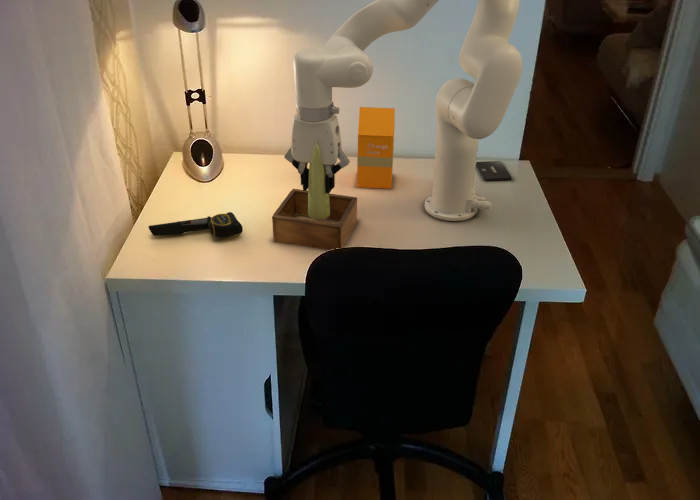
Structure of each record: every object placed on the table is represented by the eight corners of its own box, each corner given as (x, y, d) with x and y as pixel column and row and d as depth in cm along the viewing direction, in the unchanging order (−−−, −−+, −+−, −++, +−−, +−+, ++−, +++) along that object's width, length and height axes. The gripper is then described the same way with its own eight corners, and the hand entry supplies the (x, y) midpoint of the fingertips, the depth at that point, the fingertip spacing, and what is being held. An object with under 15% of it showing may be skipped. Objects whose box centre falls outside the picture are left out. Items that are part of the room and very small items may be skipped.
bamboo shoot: (336, 215, 156) (334, 135, 146) (320, 224, 153) (316, 142, 143) (320, 207, 160) (316, 128, 149) (303, 215, 157) (298, 134, 146)
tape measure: (244, 237, 156) (243, 223, 154) (214, 244, 153) (212, 229, 151) (235, 223, 161) (233, 209, 159) (206, 229, 158) (204, 215, 156)
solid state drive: (485, 180, 180) (485, 178, 180) (475, 164, 189) (476, 161, 188) (511, 179, 181) (512, 177, 180) (500, 163, 189) (501, 160, 189)
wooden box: (357, 221, 162) (357, 197, 159) (341, 252, 151) (341, 227, 148) (293, 212, 166) (292, 188, 162) (272, 241, 155) (271, 216, 151)
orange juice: (359, 173, 183) (360, 101, 173) (392, 175, 183) (395, 102, 172) (356, 187, 177) (357, 112, 166) (391, 189, 176) (394, 114, 165)
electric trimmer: (150, 233, 158) (147, 221, 156) (218, 223, 161) (217, 212, 159) (150, 241, 155) (148, 229, 153) (220, 232, 158) (219, 220, 156)
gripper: (358, 107, 144) (359, 185, 154) (282, 100, 148) (287, 177, 158) (349, 121, 138) (350, 201, 148) (269, 114, 142) (276, 192, 152)
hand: (318, 188), depth 153 cm, fingers closed on bamboo shoot, 4 cm apart
